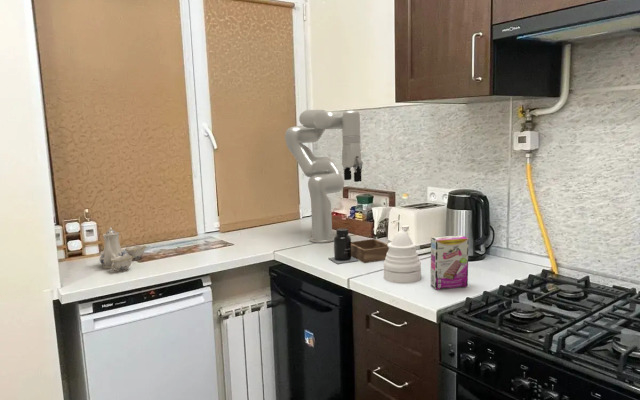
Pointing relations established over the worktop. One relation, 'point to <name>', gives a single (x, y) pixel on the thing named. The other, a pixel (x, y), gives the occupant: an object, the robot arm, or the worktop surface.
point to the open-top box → (369, 250)
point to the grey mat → (343, 261)
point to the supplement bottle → (342, 245)
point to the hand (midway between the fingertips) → (352, 180)
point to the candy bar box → (449, 262)
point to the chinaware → (118, 252)
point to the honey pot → (402, 259)
